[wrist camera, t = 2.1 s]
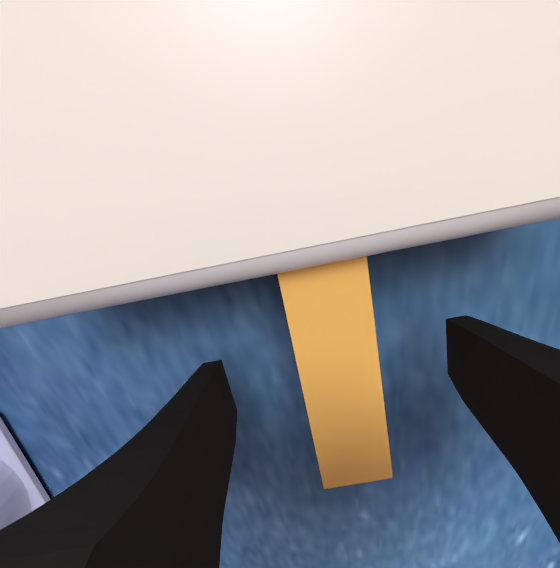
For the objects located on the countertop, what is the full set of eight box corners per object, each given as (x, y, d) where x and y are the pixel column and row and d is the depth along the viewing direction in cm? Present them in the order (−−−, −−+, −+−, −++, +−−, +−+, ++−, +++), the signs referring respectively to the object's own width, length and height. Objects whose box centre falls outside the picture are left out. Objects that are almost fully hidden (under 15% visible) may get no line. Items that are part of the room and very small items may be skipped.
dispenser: (517, 164, 13) (763, 185, 7) (96, 251, 14) (-60, 347, 7) (531, -204, 10) (1078, -939, 3) (-29, -59, 10) (-529, -397, 4)
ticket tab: (355, 373, 15) (392, 477, 10) (307, 382, 15) (323, 489, 10) (293, -43, 10) (311, -209, 5) (222, -26, 10) (180, -172, 5)
